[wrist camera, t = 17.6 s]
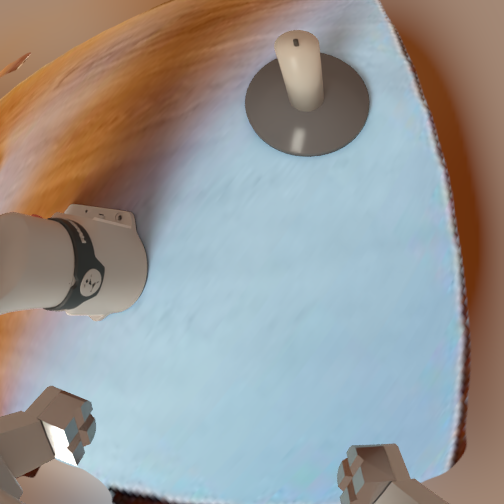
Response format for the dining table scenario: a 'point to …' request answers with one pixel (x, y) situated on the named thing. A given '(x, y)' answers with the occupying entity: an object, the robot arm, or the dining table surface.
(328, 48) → the dining table surface
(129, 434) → the dining table surface
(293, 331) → the dining table surface
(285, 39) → the candle
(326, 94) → the plate
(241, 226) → the dining table surface
